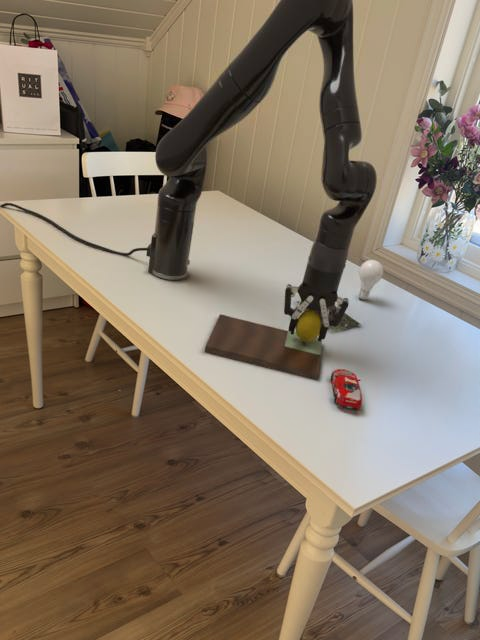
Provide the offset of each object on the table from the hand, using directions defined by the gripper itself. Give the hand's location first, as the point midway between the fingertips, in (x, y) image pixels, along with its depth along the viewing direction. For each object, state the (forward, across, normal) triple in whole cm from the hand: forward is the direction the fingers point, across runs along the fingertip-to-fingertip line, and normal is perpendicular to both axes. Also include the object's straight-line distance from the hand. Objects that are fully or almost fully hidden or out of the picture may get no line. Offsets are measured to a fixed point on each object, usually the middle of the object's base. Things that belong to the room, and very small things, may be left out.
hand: (305, 336), depth 132 cm
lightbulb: (+3, -14, -37) cm, 40 cm away
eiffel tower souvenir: (+3, -5, -21) cm, 22 cm away
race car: (+3, -10, +15) cm, 18 cm away
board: (+3, +8, +4) cm, 10 cm away
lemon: (+2, 0, 0) cm, 2 cm away
